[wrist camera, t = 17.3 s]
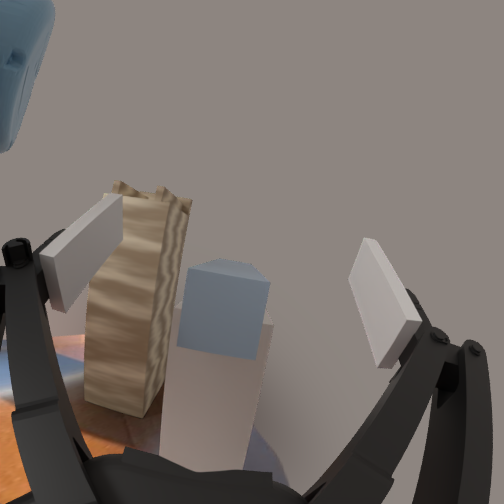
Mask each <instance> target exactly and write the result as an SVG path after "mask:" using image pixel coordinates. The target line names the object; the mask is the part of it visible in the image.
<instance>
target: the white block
mask: <svg viewBox="0 0 504 504" xmlns="http://www.w3.org/2000/svg"><path fill="white" fill-rule="evenodd" d="M182 303H183V300H182V301H181V302H180V303H179V304H177V305H176V306H175V307H174V310H173V318H172V325H171V333H170V341H169V349H168V358H167V366H166V376H165V386H164V397H163V408H162V421H161V435H160V451H159V456H161V457H163V458H166V459H168V460H170V461H172V462H174V463H176V464H178V465H181V466H183V467H185V468H187V469H190V470H192V471H195V472H211V471H224V470H235V469H237V470H242V469H243V465H244V461H245V457H246V453H247V449H248V444H249V440H250V436H251V431H252V427H253V423H254V418H255V414H256V409H257V405H258V400H259V396H260V391H261V386H262V381H263V377H264V372H265V367H266V362H267V358H268V353H269V348H270V343H271V338H272V333H273V327H274V324H273V322H272V320H271V318H270V316H269V313H268V311H267V309H266V308H265V313H264V319H263V324H262V329H261V334H260V340H259V345H258V350H257V355H256V360H249V359H243V358H237V357H231V356H225V355H219V354H213V353H208V352H203V351H197V350H192V349H187V348H183V347H178V346H177V339H178V331H179V324H180V317H181V310H182Z"/></svg>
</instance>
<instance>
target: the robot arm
mask: <svg viewBox="0 0 504 504" xmlns="http://www.w3.org/2000/svg"><path fill="white" fill-rule="evenodd" d="M54 20H55V7H54V4H53V2H52V1H51V0H0V153H4V152H5V151H8V150H9V149H10V148H11V146H12V145H13V143H14V141H15V139H16V136H17V134H18V131H19V129H20V126H21V123H22V119H23V116H24V114H25V111H26V108H27V105H28V102H29V98H30V96H31V92H32V89H33V85H34V81H35V79H36V77H37V74H38V72H39V68H40V66H41V63H42V60H43V57H44V54H45V51H46V48H47V45H48V42H49V38H50V35H51V32H52V29H53V25H54ZM122 240H123V195H122V194H115V193H110V194H108V195H107V196H106V197H105V198H103V199H102V200H101V201H100V202H98V203H97V204H96V205H95V206H93V207H92V208H91V209H89V210H88V211H87V212H86V213H85V214H83V215H82V216H81V217H80V218H79V219H78V220H76V221H75V222H74V223H73V224H72V225H71V226H69V227H68V228H67V229H62V230H60V231H58V232H56V233H54V234H53V235H52V236H51V237H50V238H49V239H48V240H46V241H45V242H44V244H42V245H41V246H39V248H37V249H36V250H35V251H34V252H33V253H32V250H31V245H30V241H29V240H28V239H26V238H16V239H12V240H10V241H8V242H6V243H5V244H4V245H3V247H2V253H3V257H4V260H5V265H6V266H0V350H1V345H2V340H3V335H4V330H5V326H6V335H7V336H6V337H7V350H8V360H9V369H10V377H11V383H12V390H13V396H14V401H15V407H16V410H15V411H13V412H12V415H11V417H12V424H13V428H14V433H15V437H16V441H17V445H18V449H19V452H20V456H21V459H22V463H23V466H24V469H25V473H26V476H27V479H28V482H29V484H30V487H31V490H32V491H31V492H29V493H27V494H25V495H23V496H21V497H19V498H16V499H14V500H12V501H10V502H8V503H6V504H381V503H382V501H383V500H384V498H385V497H386V495H387V494H388V492H389V490H390V489H391V487H392V485H393V482H394V479H393V478H391V477H392V474H393V472H394V470H395V468H396V467H397V465H398V463H399V462H400V460H401V458H402V456H403V454H404V452H405V451H406V449H407V447H408V445H409V443H410V441H411V439H412V437H413V435H414V433H415V431H416V429H417V427H418V425H419V423H420V421H421V419H422V416H423V414H424V412H425V410H426V407H427V405H428V403H429V400H430V398H431V396H432V404H431V412H430V420H429V427H428V433H427V439H426V446H425V451H424V456H423V461H422V465H421V470H420V474H419V479H418V483H417V487H416V491H415V495H414V498H413V502H412V504H489V496H490V487H491V474H492V454H493V452H492V451H493V425H492V404H491V392H490V380H489V372H488V364H487V357H486V353H485V350H484V349H483V347H482V346H481V345H480V344H479V343H478V342H476V341H473V340H466V341H465V342H464V344H463V345H462V346H461V347H459V346H456V345H453V344H450V340H449V337H448V336H447V335H446V333H444V332H443V331H442V330H440V329H438V328H436V327H432V326H431V323H430V321H429V319H428V318H427V316H426V314H425V312H424V310H423V308H422V307H421V305H420V304H419V301H418V300H417V298H416V296H415V295H414V294H413V293H412V292H411V291H410V290H409V289H405V288H404V286H403V284H402V283H401V281H400V279H399V277H398V276H397V274H396V272H395V270H394V269H393V267H392V265H391V264H390V262H389V260H388V259H387V257H386V255H385V254H384V252H383V250H382V249H381V247H380V245H379V244H378V242H377V241H376V240H373V239H369V238H363V241H362V244H361V247H360V249H359V252H358V255H357V258H356V260H355V263H354V265H353V268H352V271H351V273H350V276H349V278H348V281H349V283H350V286H351V289H352V292H353V295H354V298H355V301H356V304H357V307H358V309H359V312H360V316H361V319H362V322H363V325H364V328H365V331H366V334H367V337H368V340H369V344H370V347H371V350H372V353H373V357H374V360H375V364H376V367H377V368H388V369H392V367H393V366H394V365H395V363H396V362H397V360H398V359H399V361H400V364H401V367H400V368H399V369H398V371H397V372H396V374H395V375H394V376H393V378H392V379H391V380H390V382H389V383H390V384H389V385H388V387H387V389H386V390H385V392H384V393H383V395H382V397H381V398H380V400H379V401H378V403H377V404H376V406H375V407H374V409H373V410H372V412H371V413H370V414H369V416H368V417H367V419H366V420H365V422H364V423H363V424H362V426H361V427H360V429H359V430H358V431H357V433H356V434H355V435H354V437H353V438H352V440H351V441H350V442H349V443H348V445H347V446H346V447H345V448H344V450H343V451H342V452H341V453H340V455H339V456H338V457H337V459H336V460H335V461H334V462H333V463H332V465H331V466H330V467H329V468H328V469H327V470H326V472H325V473H324V474H323V475H322V476H321V477H320V479H319V480H318V481H317V482H316V483H315V484H314V485H313V486H312V487H311V488H310V489H309V490H308V491H307V492H306V493H305V494H304V495H302V496H301V495H300V494H299V493H297V492H296V491H294V490H293V489H291V488H289V487H288V486H286V485H283V484H281V483H278V482H276V481H272V473H271V472H257V471H246V470H237V469H235V470H224V471H211V472H195V471H192V470H190V469H187V468H185V467H183V466H181V465H178V464H176V463H174V462H172V461H170V460H168V459H166V458H163V457H161V456H159V455H155V454H151V453H147V452H143V451H139V450H136V449H132V448H129V447H126V446H125V449H124V452H123V454H108V455H102V456H98V457H94V458H93V457H92V455H91V453H90V451H89V449H88V447H87V445H86V443H85V441H84V439H83V436H82V434H81V431H80V429H79V426H78V424H77V421H76V418H75V415H74V413H73V410H72V407H71V404H70V401H69V398H68V395H67V392H66V389H65V385H64V382H63V379H62V375H61V372H60V368H59V365H58V361H57V357H56V353H55V349H54V345H53V340H52V336H51V332H50V327H49V321H48V317H47V311H46V308H45V303H46V302H47V300H48V299H50V303H51V307H52V309H54V310H57V311H60V312H63V313H67V311H68V310H69V308H70V307H71V305H72V304H73V303H74V301H75V300H76V299H77V297H78V296H79V295H80V293H81V292H82V291H83V289H84V288H85V287H86V285H87V284H88V283H89V282H90V280H91V279H92V278H93V276H94V275H95V274H96V272H97V271H98V270H99V269H100V267H101V266H102V265H103V264H104V262H105V261H106V260H107V259H108V257H109V256H110V255H111V254H112V252H113V251H114V250H115V249H116V248H117V246H118V245H119V244H120V243H121V242H122ZM432 393H433V394H432Z"/></svg>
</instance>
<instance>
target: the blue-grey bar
mask: <svg viewBox="0 0 504 504" xmlns="http://www.w3.org/2000/svg"><path fill="white" fill-rule="evenodd" d="M269 286H270V282H269V281H268V280H267V279H266V278H265V277H264V276H263V275H262V274H261V273H260V272H259V271H258V270H257V269H256V268H255V267H254V266H253V265H252V264H248V263H242V262H237V261H231V260H226V259H216V260H213V261H210V262H206V263H203V264H199V265H196V266H193V267H190V268H188V271H187V278H186V284H185V290H184V298H183V303H182V310H181V317H180V324H179V331H178V339H177V346H178V347H183V348H187V349H192V350H197V351H203V352H208V353H213V354H219V355H225V356H231V357H237V358H243V359H249V360H256V355H257V350H258V345H259V340H260V334H261V329H262V324H263V319H264V313H265V308H266V303H267V297H268V292H269Z"/></svg>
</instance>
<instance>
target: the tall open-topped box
mask: <svg viewBox="0 0 504 504" xmlns="http://www.w3.org/2000/svg"><path fill="white" fill-rule="evenodd" d="M112 193H115V194H122V195H123V240H122V242H121V243H120V244H119V245H118V246H117V248H116V249H115V250H114V251H113V252H112V254H111V255H110V256H109V257H108V259H107V260H106V261H105V262H104V264H103V265H102V266H101V267H100V269H99V270H98V271H97V272H96V274H95V275H94V276H93V278H92V279H91V280H90V282H89V290H88V300H87V313H86V328H85V351H84V396H85V401H88V402H91V403H94V404H97V405H100V406H103V407H106V408H109V409H112V410H115V411H118V412H121V413H125V414H128V415H131V416H135V417H139V418H142V419H143V417H144V415H145V414H146V412H147V410H148V408H149V407H150V405H151V403H152V402H153V400H154V398H155V396H156V395H157V393H158V391H159V389H160V388H161V386H162V384H163V383H164V381H165V376H166V366H167V358H168V349H169V341H170V333H171V325H172V318H173V310H174V303H175V297H176V290H177V284H178V277H179V271H180V264H181V259H182V253H183V247H184V242H185V236H186V231H187V225H188V220H189V215H190V210H191V204H192V200H191V199H187V198H181V197H175V196H174V195H173V194H172V193H171V192H170V191H169V190H167V189H166V188H165V187H162V186H157V190H156V194H155V193H147V192H138V191H136V190H135V189H133V188H132V187H130V186H128V185H127V184H125V183H123V182H122V181H117V180H115V181H114V184H113V189H112ZM107 195H108V193H104V196H103V198H105V197H106V196H107Z"/></svg>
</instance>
